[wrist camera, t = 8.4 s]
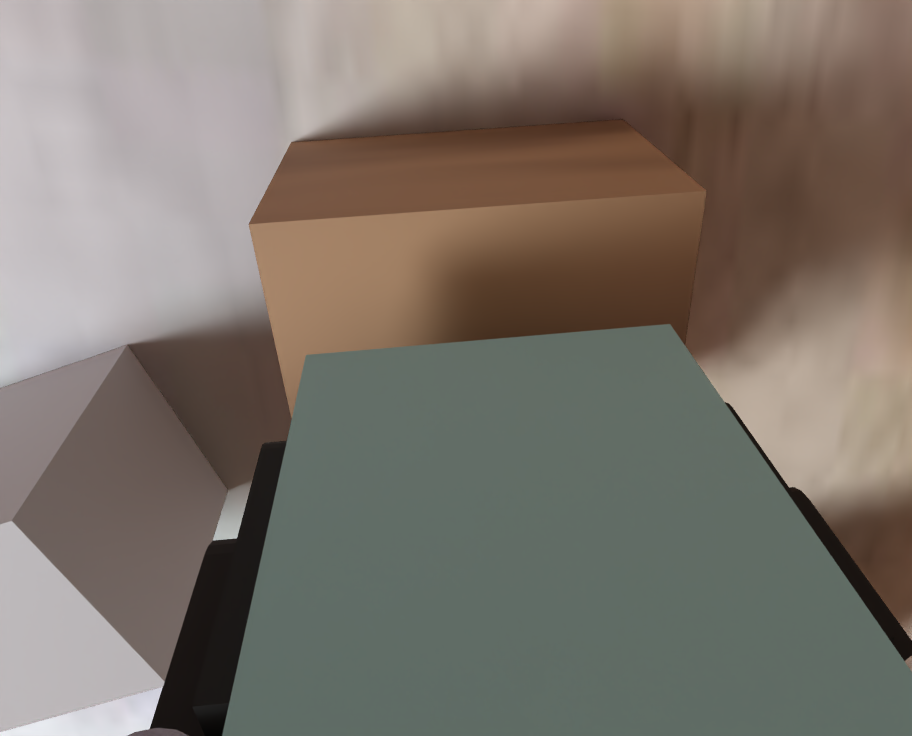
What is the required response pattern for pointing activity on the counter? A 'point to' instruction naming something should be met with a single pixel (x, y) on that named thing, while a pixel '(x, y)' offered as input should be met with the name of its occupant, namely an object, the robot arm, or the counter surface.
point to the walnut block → (473, 238)
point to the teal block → (546, 558)
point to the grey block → (95, 536)
